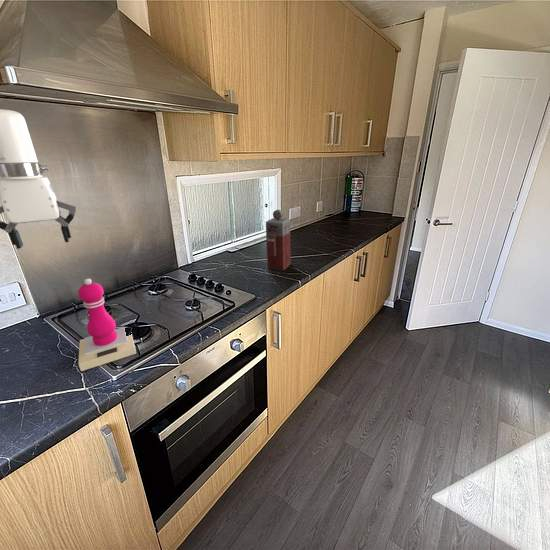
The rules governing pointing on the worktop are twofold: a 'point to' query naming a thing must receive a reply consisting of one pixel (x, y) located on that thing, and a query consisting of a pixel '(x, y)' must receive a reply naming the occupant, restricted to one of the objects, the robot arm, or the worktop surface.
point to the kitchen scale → (105, 350)
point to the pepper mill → (97, 314)
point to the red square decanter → (278, 241)
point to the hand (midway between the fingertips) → (44, 244)
